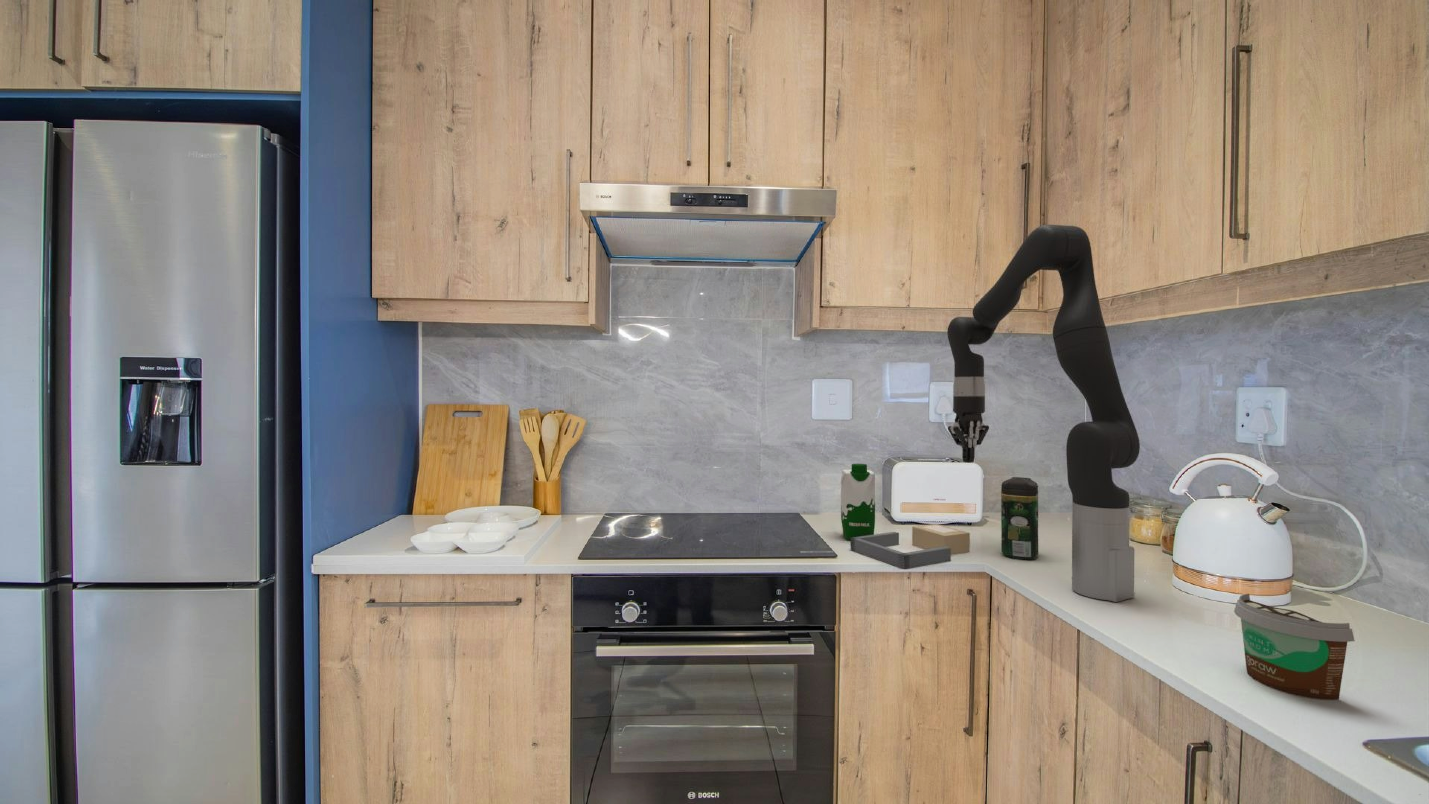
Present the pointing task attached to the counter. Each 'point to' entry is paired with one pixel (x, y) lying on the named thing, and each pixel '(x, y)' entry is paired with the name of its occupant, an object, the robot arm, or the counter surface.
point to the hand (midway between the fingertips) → (968, 462)
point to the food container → (1293, 650)
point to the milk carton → (857, 501)
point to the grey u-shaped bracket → (878, 550)
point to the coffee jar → (1019, 518)
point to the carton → (941, 538)
